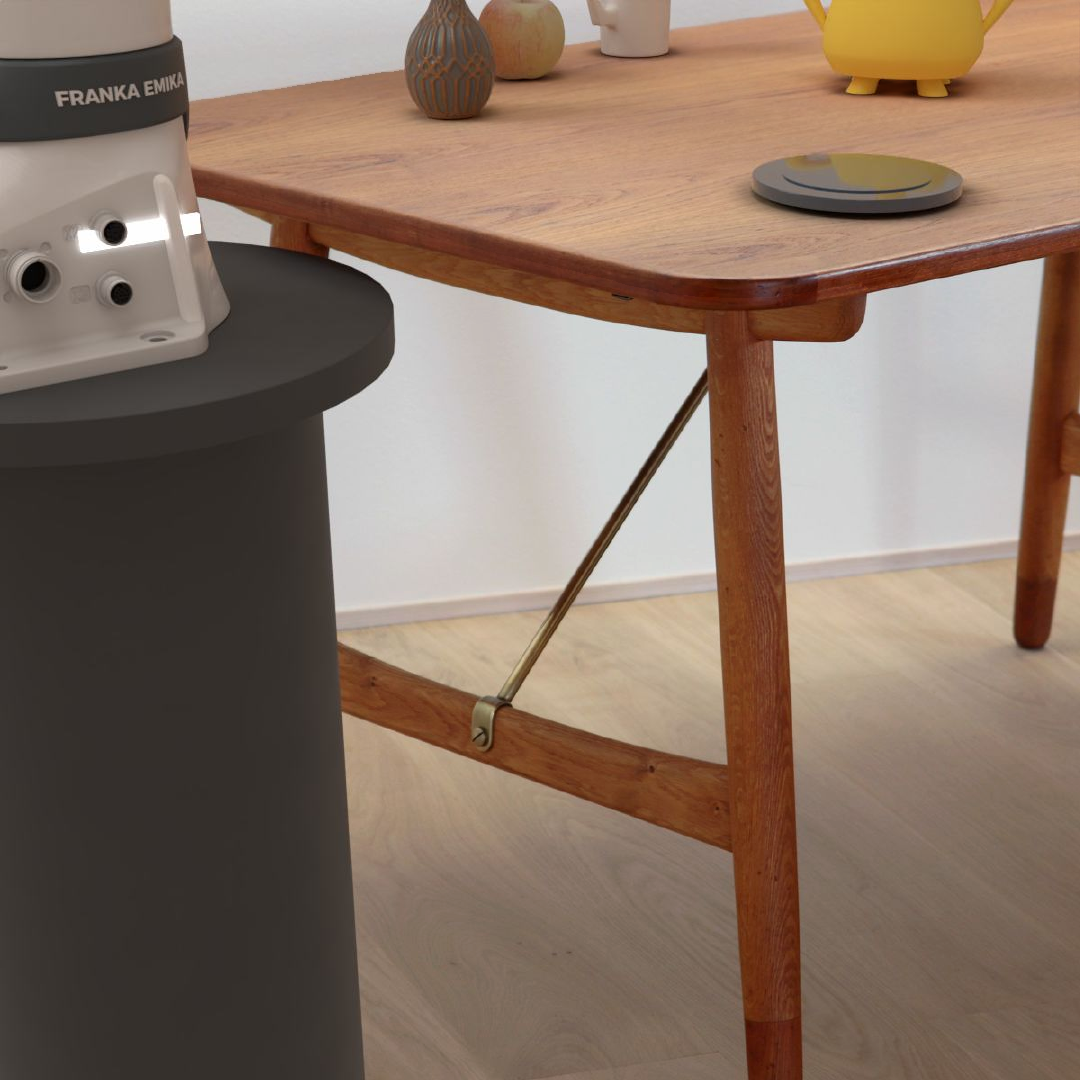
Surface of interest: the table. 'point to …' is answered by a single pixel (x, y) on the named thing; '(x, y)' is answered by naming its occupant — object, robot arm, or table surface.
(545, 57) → the fruit
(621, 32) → the mug
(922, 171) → the plate
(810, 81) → the table surface
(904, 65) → the teapot
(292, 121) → the table surface
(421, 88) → the vase
